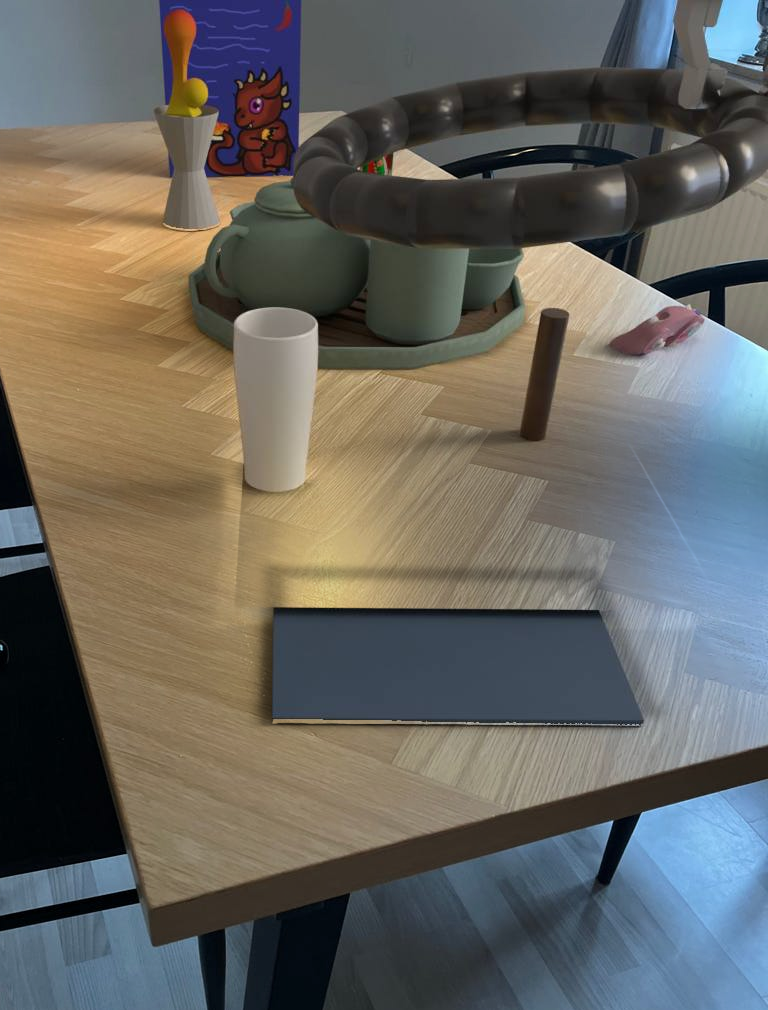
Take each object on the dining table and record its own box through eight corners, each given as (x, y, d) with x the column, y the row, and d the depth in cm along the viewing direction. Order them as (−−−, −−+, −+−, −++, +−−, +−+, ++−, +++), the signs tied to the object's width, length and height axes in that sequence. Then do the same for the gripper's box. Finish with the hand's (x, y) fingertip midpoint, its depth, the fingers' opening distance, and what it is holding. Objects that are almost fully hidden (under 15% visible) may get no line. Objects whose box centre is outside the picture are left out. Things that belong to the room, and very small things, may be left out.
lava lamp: (151, 228, 143) (129, -67, 121) (175, 211, 150) (159, -71, 128) (208, 234, 141) (197, -64, 119) (230, 217, 148) (224, -69, 125)
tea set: (568, 297, 123) (596, 155, 113) (421, 416, 97) (440, 246, 87) (303, 239, 140) (306, 110, 129) (117, 327, 114) (102, 175, 103)
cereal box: (294, 166, 171) (297, -42, 152) (298, 175, 166) (301, -38, 148) (169, 168, 169) (156, -43, 150) (169, 177, 164) (156, -39, 145)
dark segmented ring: (684, 97, 59) (690, 43, 57) (861, 213, 41) (878, 140, 39) (296, 152, 61) (290, 102, 59) (298, 286, 43) (289, 220, 41)
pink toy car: (625, 381, 108) (663, 335, 102) (600, 350, 109) (636, 303, 103) (681, 360, 112) (720, 315, 106) (656, 331, 113) (694, 285, 108)
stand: (562, 429, 95) (590, 296, 87) (581, 469, 89) (613, 331, 81) (480, 428, 95) (500, 295, 87) (494, 469, 89) (517, 330, 81)
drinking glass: (229, 505, 84) (224, 335, 74) (244, 467, 89) (241, 303, 79) (307, 513, 83) (312, 342, 73) (318, 473, 88) (324, 309, 78)
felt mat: (586, 589, 75) (588, 583, 74) (642, 727, 63) (644, 720, 63) (273, 587, 75) (273, 580, 74) (271, 724, 63) (271, 717, 63)
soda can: (365, 195, 157) (370, 112, 150) (394, 200, 156) (401, 116, 148) (352, 203, 154) (357, 119, 146) (382, 208, 152) (388, 122, 145)
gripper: (1047, -258, 42) (911, 100, 51) (578, -272, 42) (522, 90, 51) (1146, -270, 37) (976, 128, 46) (616, -287, 37) (546, 116, 46)
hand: (735, 108), depth 49 cm, fingers closed on dark segmented ring, 2 cm apart
